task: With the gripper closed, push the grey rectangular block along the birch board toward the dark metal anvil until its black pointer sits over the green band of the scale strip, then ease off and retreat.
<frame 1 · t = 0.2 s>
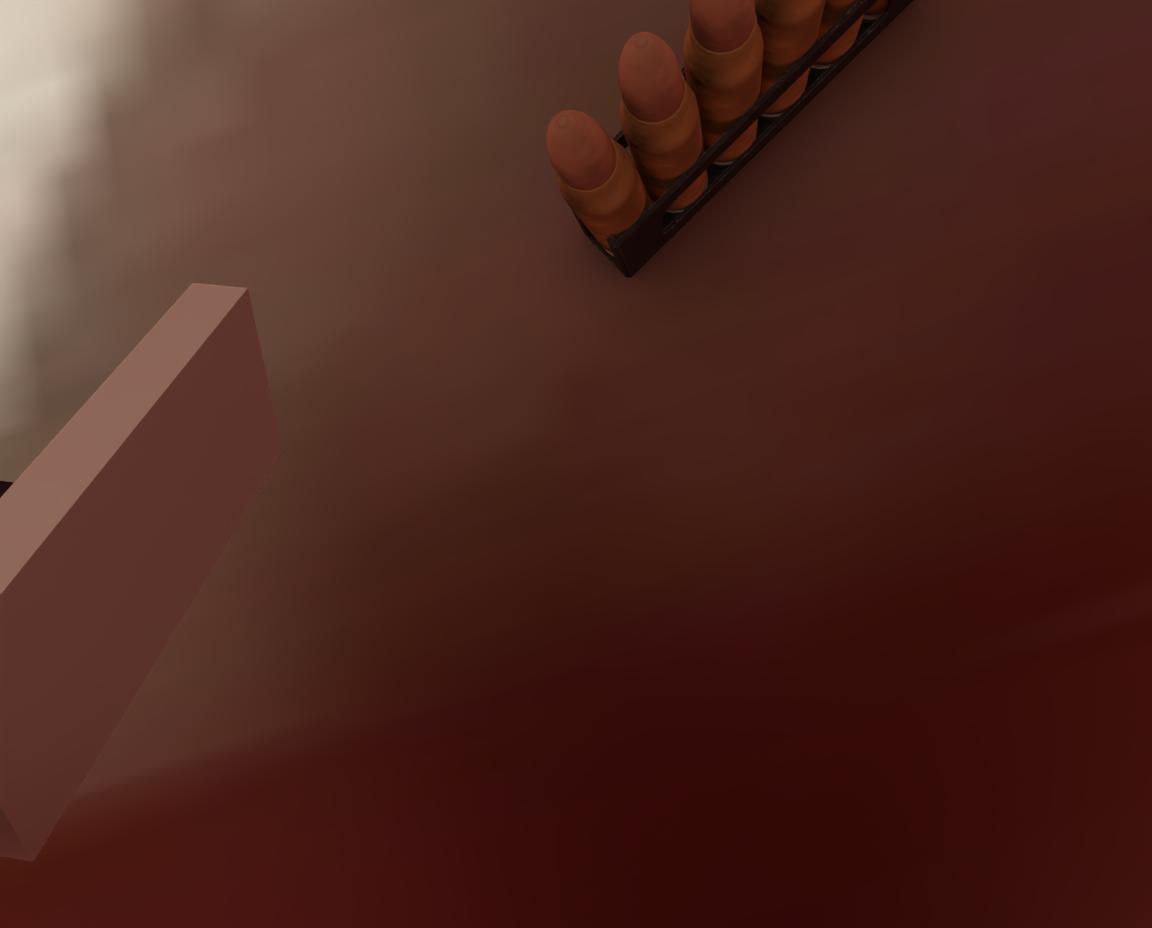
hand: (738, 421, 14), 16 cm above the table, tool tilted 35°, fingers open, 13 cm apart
ammunition clip: (747, 117, 29), on the table
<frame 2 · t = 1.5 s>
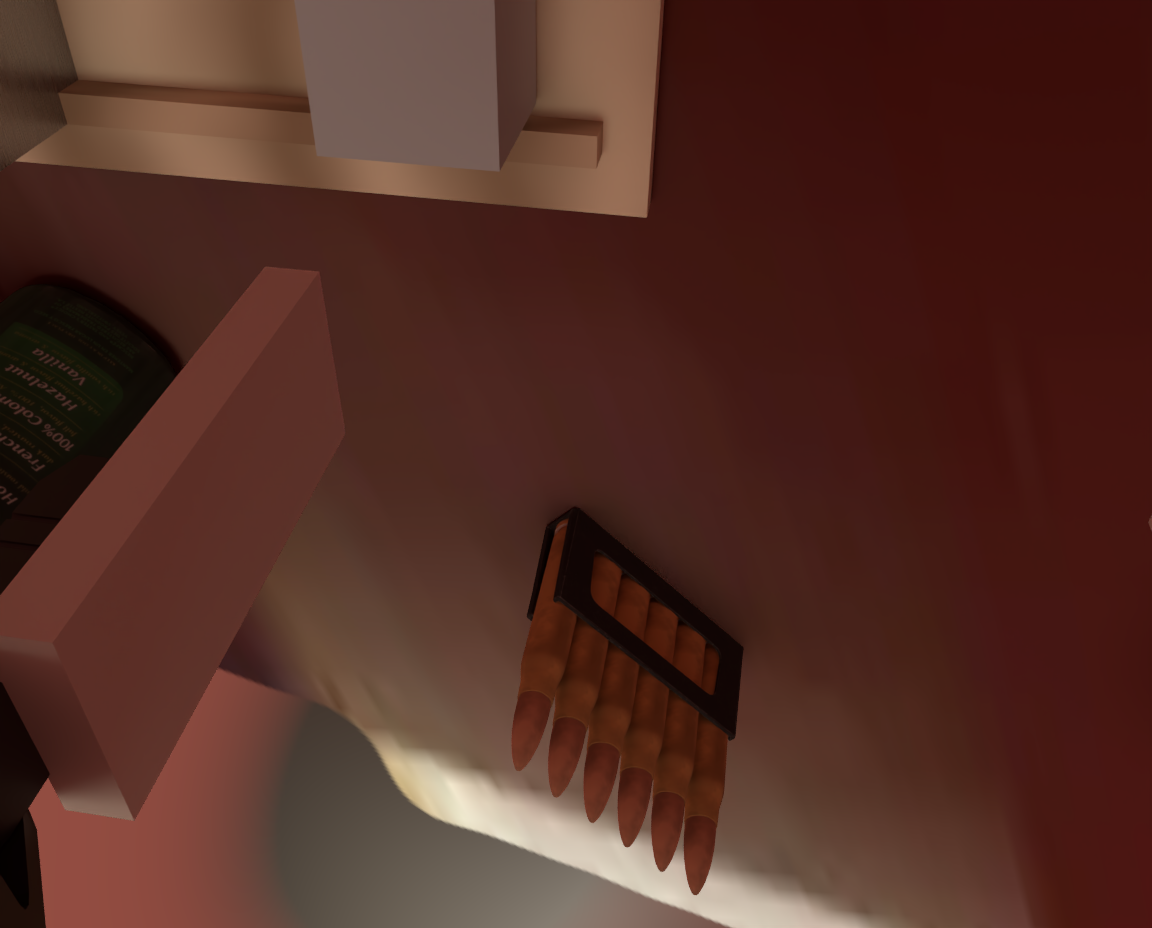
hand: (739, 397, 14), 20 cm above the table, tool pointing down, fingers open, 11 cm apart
ammunition clip: (648, 585, 46), on the table
coffee jar: (84, 375, 43), on the table
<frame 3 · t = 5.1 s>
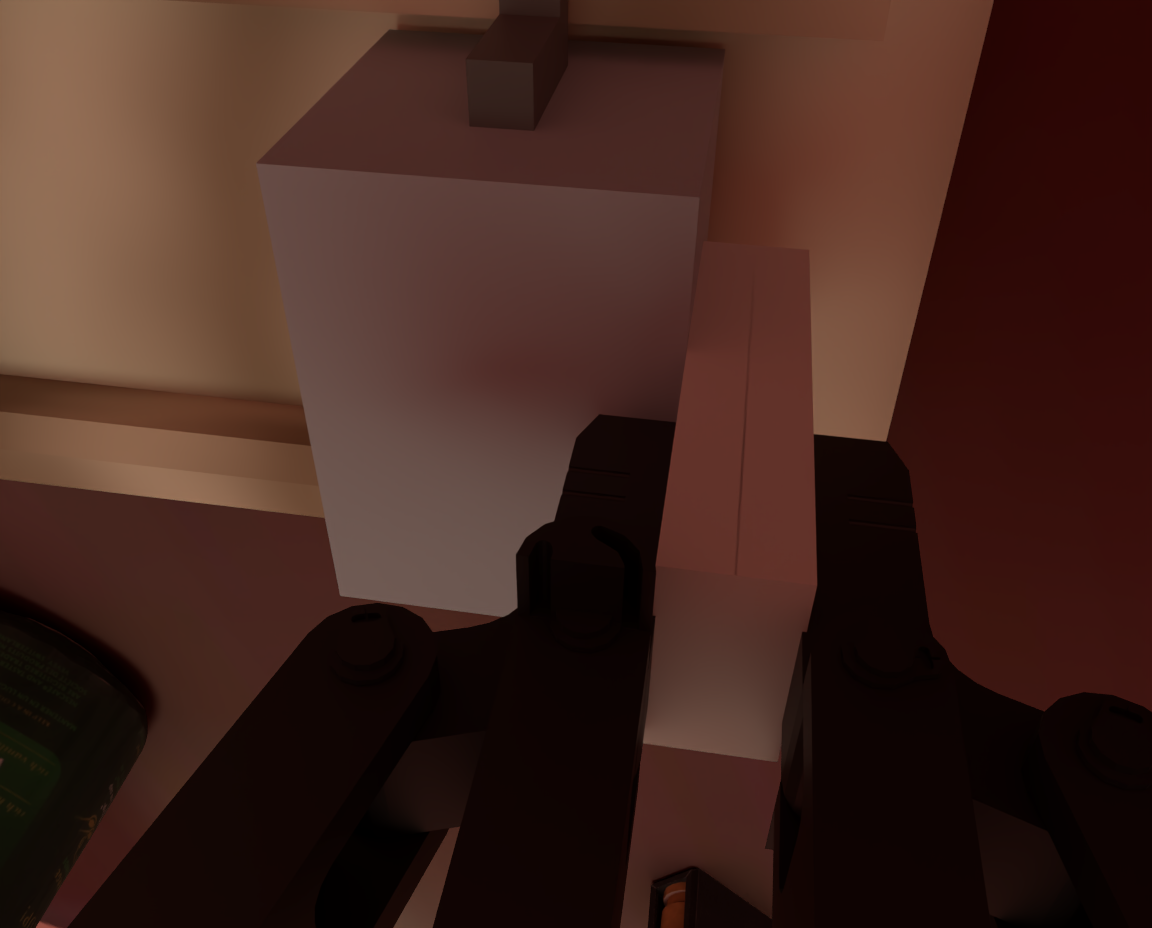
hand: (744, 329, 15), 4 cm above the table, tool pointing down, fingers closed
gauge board: (307, 194, 19), on the table
coffee jar: (18, 687, 32), on the table
grey rectangular block: (521, 208, 14), point 4 cm above the table, slide at 0.1 cm, touching gripper
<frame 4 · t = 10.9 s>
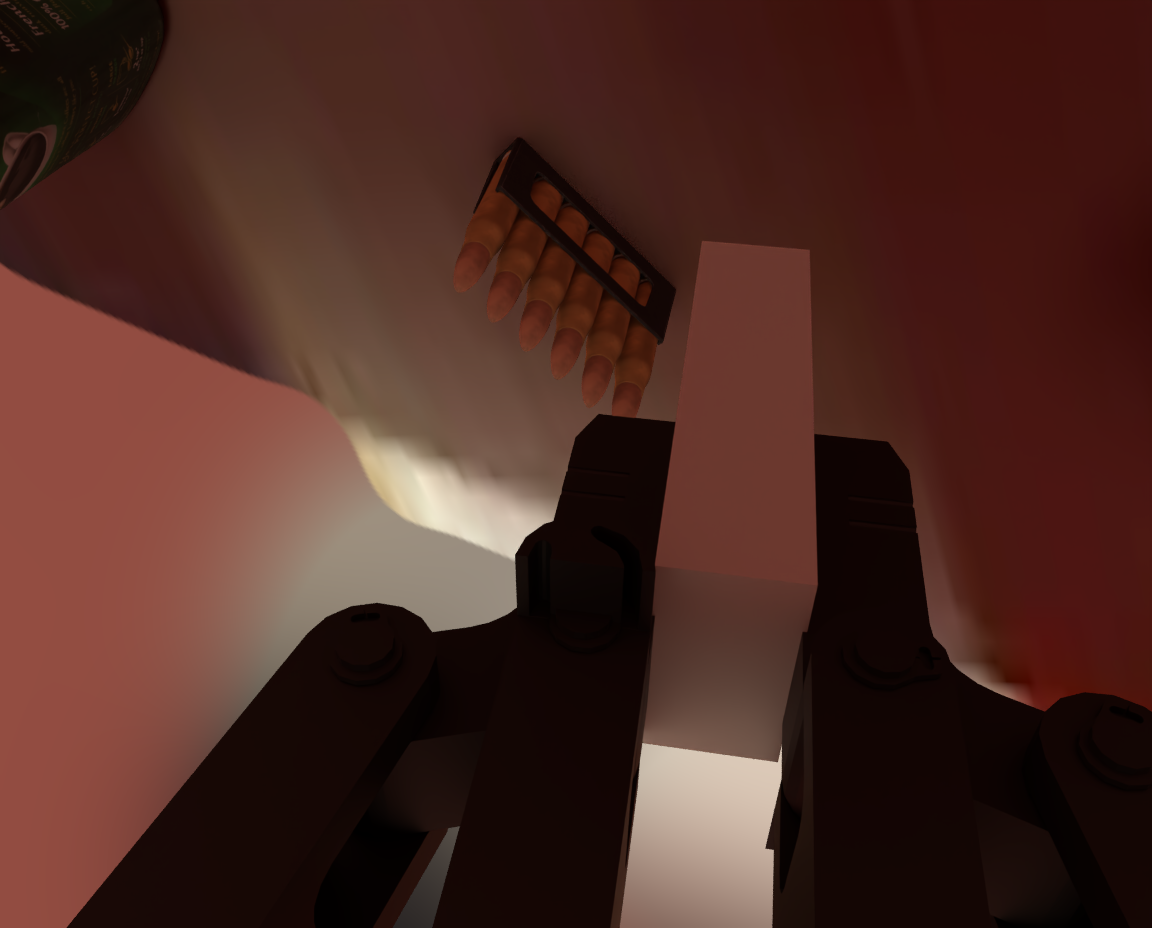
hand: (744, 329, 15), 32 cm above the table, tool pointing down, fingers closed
ammunition clip: (588, 225, 51), on the table
coffee jar: (78, 24, 48), on the table
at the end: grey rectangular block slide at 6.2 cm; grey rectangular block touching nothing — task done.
